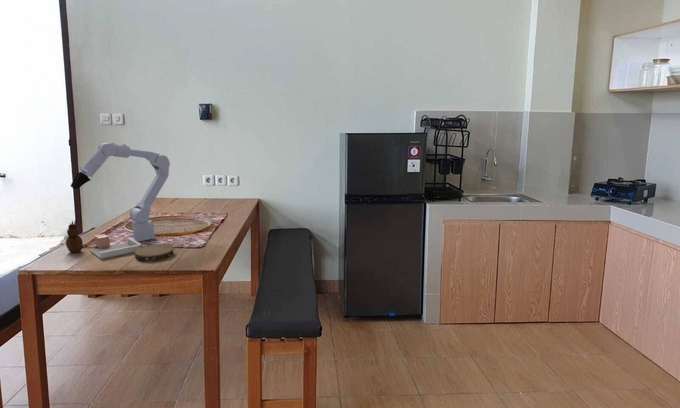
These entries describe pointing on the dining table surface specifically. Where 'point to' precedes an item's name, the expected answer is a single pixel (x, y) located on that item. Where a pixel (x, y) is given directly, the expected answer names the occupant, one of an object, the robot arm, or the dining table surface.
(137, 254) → the wooden log slice
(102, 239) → the terracotta block
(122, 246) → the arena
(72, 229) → the wooden figurine
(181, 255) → the dining table surface
